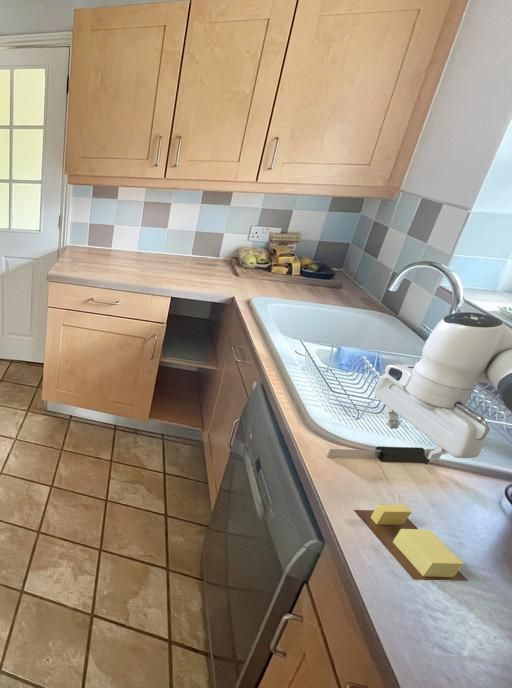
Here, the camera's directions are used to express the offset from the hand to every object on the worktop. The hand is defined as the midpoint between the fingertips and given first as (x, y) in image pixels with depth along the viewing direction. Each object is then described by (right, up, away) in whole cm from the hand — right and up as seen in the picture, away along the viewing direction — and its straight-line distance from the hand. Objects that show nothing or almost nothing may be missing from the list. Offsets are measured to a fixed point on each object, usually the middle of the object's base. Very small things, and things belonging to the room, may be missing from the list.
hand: (409, 441), depth 89 cm
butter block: (-16, -14, -18) cm, 28 cm away
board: (-16, -14, -15) cm, 26 cm away
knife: (-5, -6, +3) cm, 8 cm away
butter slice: (-16, -11, -12) cm, 23 cm away
